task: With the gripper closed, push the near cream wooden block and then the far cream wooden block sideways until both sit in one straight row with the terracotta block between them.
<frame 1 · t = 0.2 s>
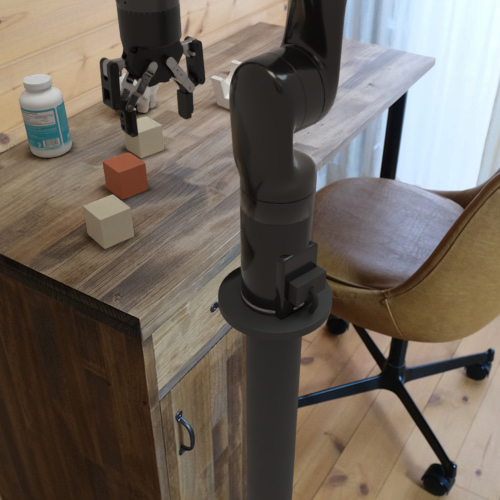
hand: (159, 125, 86), 17 cm above the table, tool pointing down, fingers open, 8 cm apart
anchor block: (127, 188, 106), on the table
bracket: (249, 110, 132), on the table
near block: (111, 235, 96), on the table
elephant figurine: (135, 111, 132), on the table
far block: (145, 149, 118), on the table
pill bottle: (52, 150, 118), on the table
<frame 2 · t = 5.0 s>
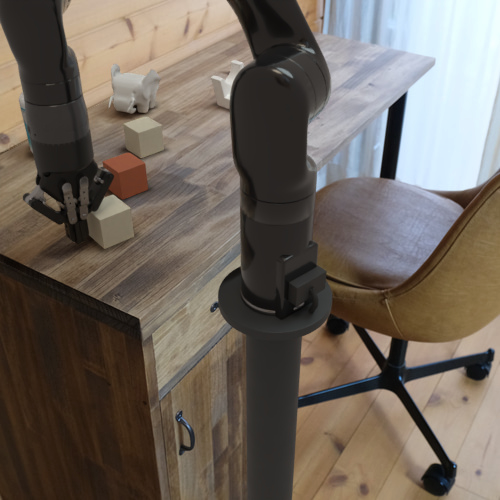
hand: (79, 240, 92), 1 cm above the table, tool pointing down, fingers closed
near block: (111, 235, 96), on the table, touching gripper
everything else where it was.
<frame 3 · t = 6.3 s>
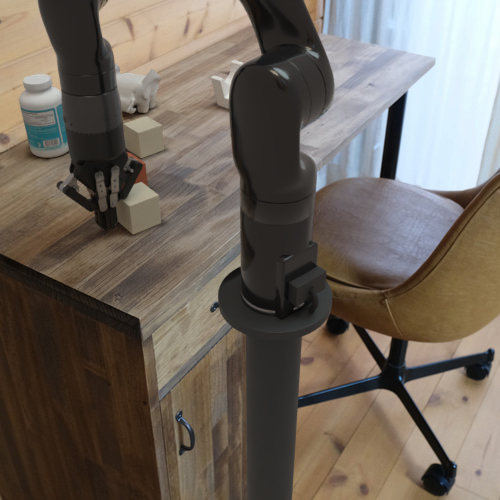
hand: (107, 227, 95), 1 cm above the table, tool pointing down, fingers closed
near block: (138, 221, 99), on the table, touching gripper
everything else where it was.
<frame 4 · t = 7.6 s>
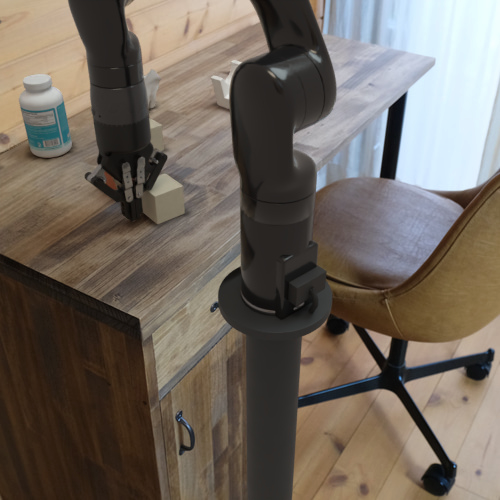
hand: (133, 218, 97), 1 cm above the table, tool pointing down, fingers closed
near block: (162, 212, 101), on the table, touching gripper
everything else where it was.
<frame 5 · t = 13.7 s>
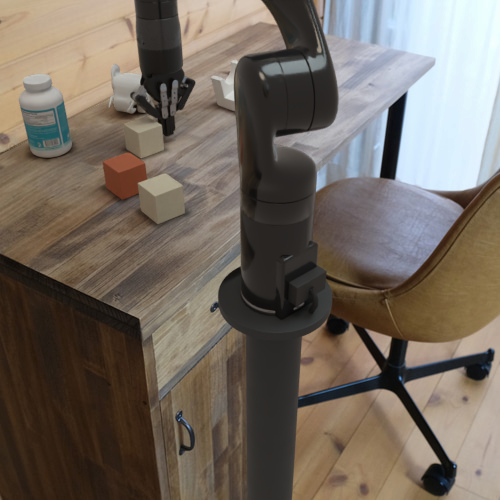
hand: (167, 134, 120), 1 cm above the table, tool pointing down, fingers closed
near block: (162, 212, 101), on the table
far block: (145, 149, 118), on the table, touching gripper
everything else where it was.
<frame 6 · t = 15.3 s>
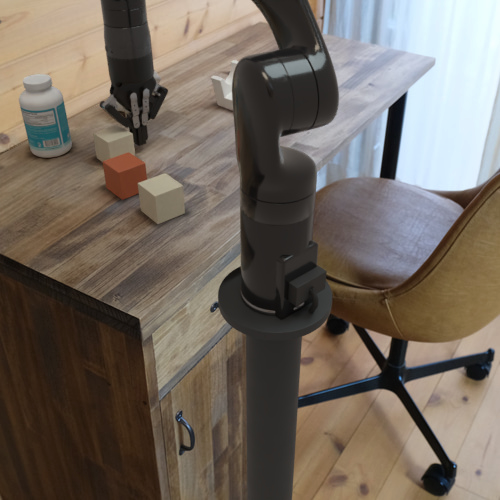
hand: (140, 143, 117), 1 cm above the table, tool pointing down, fingers closed
far block: (116, 158, 115), on the table, touching gripper
everything else where it was.
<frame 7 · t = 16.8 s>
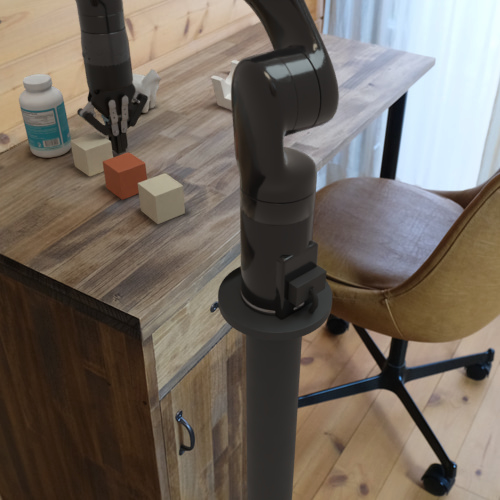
hand: (119, 151, 115), 1 cm above the table, tool pointing down, fingers closed
far block: (94, 166, 113), on the table, touching gripper
everything else where it was.
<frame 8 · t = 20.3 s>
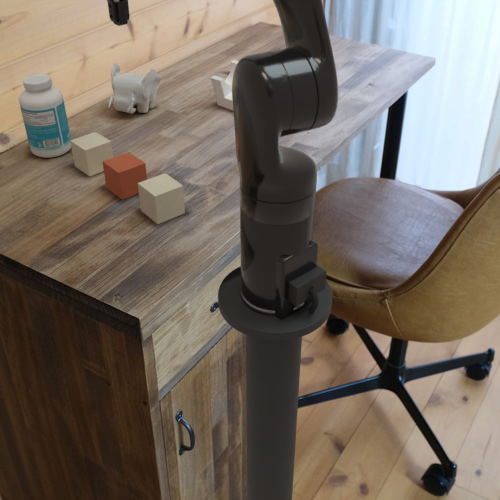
hand: (120, 23, 103), 23 cm above the table, tool pointing down, fingers closed
far block: (94, 166, 113), on the table
everything else where it was.
at the end: near block 0.5 cm from the target spot on the table beside the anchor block, on the table; far block 0.4 cm from the target spot on the table beside the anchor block, on the table; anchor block moved 0.0 cm from its start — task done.
